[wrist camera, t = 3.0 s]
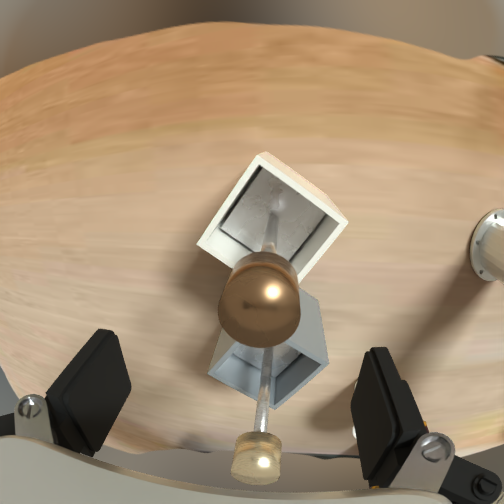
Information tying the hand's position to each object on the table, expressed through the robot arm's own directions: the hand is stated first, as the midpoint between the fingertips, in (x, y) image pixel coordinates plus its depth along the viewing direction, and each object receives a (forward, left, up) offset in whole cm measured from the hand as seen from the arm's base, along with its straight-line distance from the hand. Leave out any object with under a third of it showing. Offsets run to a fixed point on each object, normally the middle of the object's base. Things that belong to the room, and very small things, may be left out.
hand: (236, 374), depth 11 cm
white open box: (0, 0, -33) cm, 33 cm away
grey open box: (+13, +9, -33) cm, 37 cm away
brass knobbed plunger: (+13, +9, -24) cm, 29 cm away
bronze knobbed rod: (0, 0, -24) cm, 24 cm away
